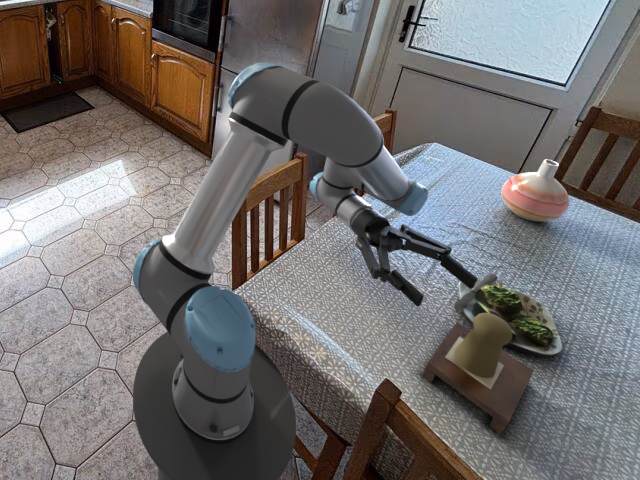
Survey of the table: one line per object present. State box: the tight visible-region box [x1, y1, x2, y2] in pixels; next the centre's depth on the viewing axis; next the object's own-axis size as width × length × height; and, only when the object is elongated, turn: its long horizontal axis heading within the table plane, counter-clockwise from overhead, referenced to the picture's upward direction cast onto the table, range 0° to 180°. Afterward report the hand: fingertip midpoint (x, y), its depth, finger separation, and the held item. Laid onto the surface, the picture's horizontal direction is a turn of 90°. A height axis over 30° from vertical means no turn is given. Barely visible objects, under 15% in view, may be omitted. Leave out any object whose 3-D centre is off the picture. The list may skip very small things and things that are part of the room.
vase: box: [500, 159, 570, 222], centre depth 114 cm, size 14×14×18 cm
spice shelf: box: [421, 321, 535, 435], centre depth 77 cm, size 12×14×4 cm
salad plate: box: [453, 272, 564, 359], centre depth 89 cm, size 19×18×5 cm
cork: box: [455, 313, 512, 378], centre depth 74 cm, size 6×6×11 cm
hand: (448, 292), depth 80 cm, fingers open, 13 cm apart
